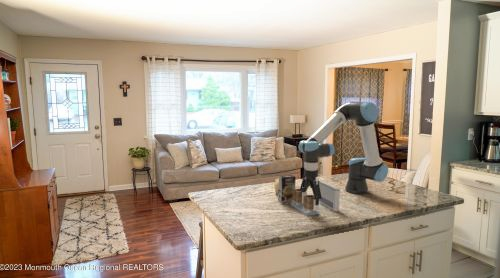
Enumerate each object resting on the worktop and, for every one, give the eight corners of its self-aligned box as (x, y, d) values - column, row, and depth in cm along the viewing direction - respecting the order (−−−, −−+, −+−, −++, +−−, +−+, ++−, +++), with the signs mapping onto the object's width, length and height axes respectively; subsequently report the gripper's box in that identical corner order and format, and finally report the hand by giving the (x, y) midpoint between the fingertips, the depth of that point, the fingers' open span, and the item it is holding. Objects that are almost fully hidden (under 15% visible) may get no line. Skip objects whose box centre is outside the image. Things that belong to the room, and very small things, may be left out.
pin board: (302, 203, 205) (302, 194, 204) (319, 214, 186) (319, 204, 185) (290, 204, 202) (290, 195, 201) (306, 215, 183) (306, 206, 183)
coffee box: (281, 203, 204) (282, 177, 202) (277, 200, 210) (278, 175, 208) (295, 201, 207) (295, 176, 205) (290, 198, 213) (291, 174, 211)
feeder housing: (322, 201, 208) (323, 180, 206) (338, 210, 191) (339, 188, 190) (317, 202, 207) (318, 181, 205) (334, 211, 190) (334, 189, 188)
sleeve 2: (311, 208, 191) (312, 194, 190) (316, 211, 186) (317, 197, 185) (303, 209, 189) (303, 195, 188) (307, 212, 184) (308, 198, 183)
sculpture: (291, 190, 231) (291, 175, 229) (291, 196, 219) (291, 180, 218) (274, 190, 232) (274, 175, 231) (274, 195, 220) (274, 179, 219)
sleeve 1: (300, 201, 203) (301, 188, 202) (305, 204, 198) (305, 191, 197) (292, 202, 202) (293, 189, 201) (296, 205, 196) (297, 191, 195)
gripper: (294, 165, 195) (293, 200, 198) (316, 174, 172) (315, 214, 175) (306, 164, 197) (305, 199, 200) (329, 173, 174) (327, 213, 177)
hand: (309, 206), depth 187 cm, fingers open, 13 cm apart
